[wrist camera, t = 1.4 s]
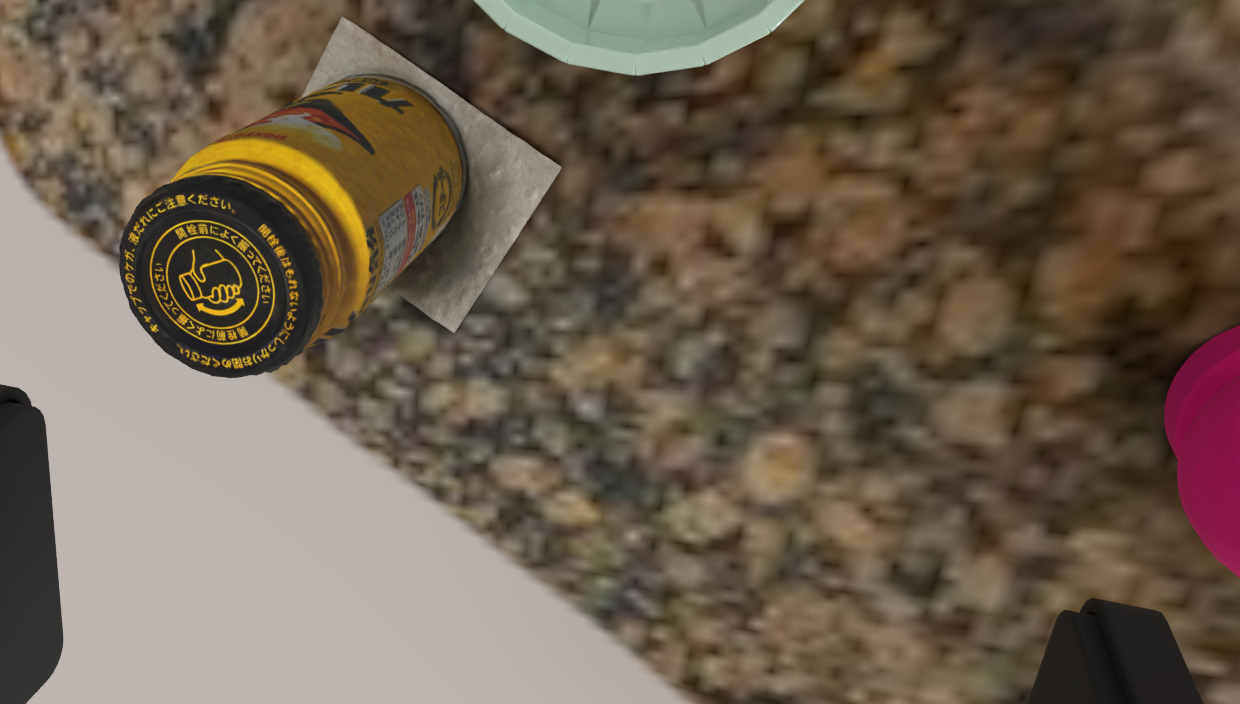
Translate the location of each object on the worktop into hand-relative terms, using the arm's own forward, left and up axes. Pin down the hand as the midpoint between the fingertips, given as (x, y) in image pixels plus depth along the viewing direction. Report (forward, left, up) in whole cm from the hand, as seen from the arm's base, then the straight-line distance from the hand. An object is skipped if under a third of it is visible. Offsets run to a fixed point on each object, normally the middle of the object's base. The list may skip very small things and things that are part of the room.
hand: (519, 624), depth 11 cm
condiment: (+6, -11, -29) cm, 31 cm away
